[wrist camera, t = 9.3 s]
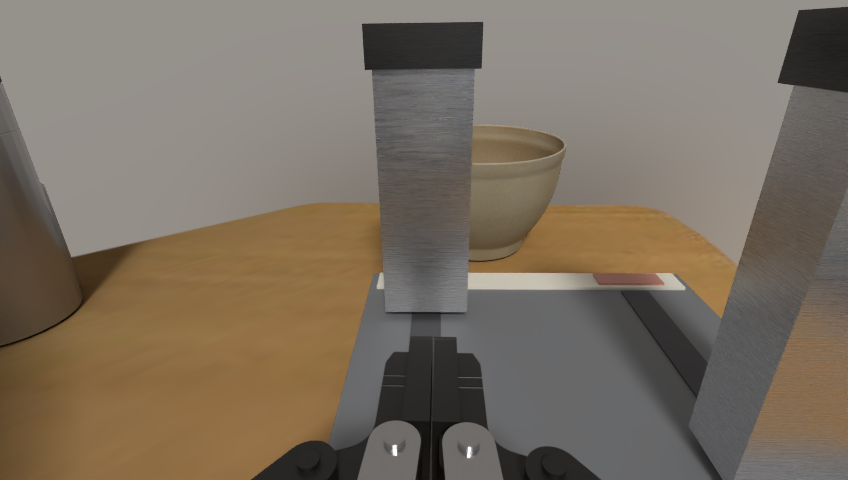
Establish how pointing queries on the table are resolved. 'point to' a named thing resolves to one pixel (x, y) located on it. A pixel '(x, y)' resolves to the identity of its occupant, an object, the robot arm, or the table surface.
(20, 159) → the robot arm
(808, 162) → the lever
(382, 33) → the lever
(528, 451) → the switch unit
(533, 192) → the planter bowl
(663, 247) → the table surface
